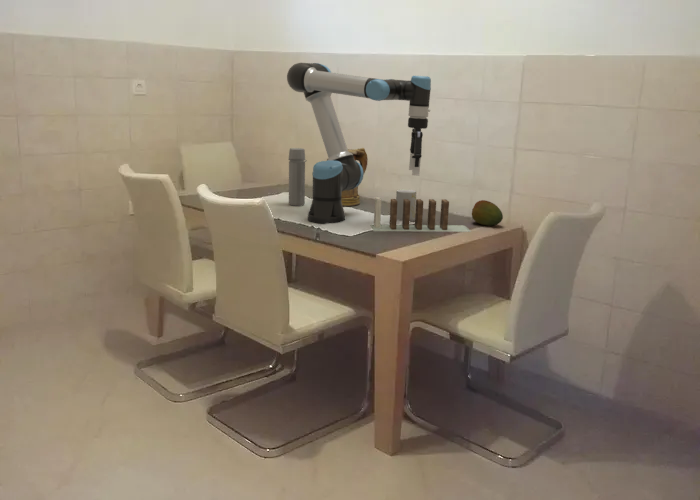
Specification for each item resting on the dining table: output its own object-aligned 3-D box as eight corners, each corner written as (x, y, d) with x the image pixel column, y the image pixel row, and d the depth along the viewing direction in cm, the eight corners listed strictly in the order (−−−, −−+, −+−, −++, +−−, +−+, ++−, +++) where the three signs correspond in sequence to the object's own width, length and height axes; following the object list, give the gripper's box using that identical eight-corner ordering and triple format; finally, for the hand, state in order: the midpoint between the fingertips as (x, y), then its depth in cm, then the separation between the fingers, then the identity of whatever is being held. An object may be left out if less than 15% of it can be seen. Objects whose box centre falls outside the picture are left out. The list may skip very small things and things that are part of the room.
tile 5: (442, 229, 262) (444, 201, 259) (439, 227, 267) (441, 199, 264) (447, 229, 262) (449, 201, 259) (444, 227, 267) (446, 199, 264)
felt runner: (373, 232, 257) (373, 230, 257) (369, 225, 267) (369, 224, 267) (471, 232, 261) (471, 231, 261) (464, 226, 271) (464, 225, 271)
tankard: (312, 201, 314) (313, 147, 308) (353, 197, 327) (355, 145, 321) (334, 208, 300) (335, 151, 294) (376, 204, 313) (378, 149, 307)
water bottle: (284, 204, 306) (285, 148, 300) (300, 202, 310) (300, 147, 304) (294, 207, 299) (295, 150, 292) (310, 206, 303) (311, 149, 297)
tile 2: (404, 229, 260) (405, 201, 258) (402, 226, 265) (403, 198, 262) (409, 229, 261) (410, 201, 258) (406, 226, 265) (408, 199, 263)
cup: (413, 222, 276) (415, 193, 273) (393, 221, 277) (395, 191, 274) (415, 218, 284) (417, 190, 281) (396, 217, 285) (398, 188, 282)
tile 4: (430, 229, 261) (431, 201, 259) (427, 226, 266) (428, 199, 264) (434, 229, 262) (436, 201, 259) (431, 226, 266) (433, 199, 264)
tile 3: (417, 229, 261) (418, 201, 258) (414, 226, 266) (416, 199, 263) (421, 229, 261) (423, 201, 258) (419, 226, 266) (420, 199, 263)
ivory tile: (375, 227, 262) (376, 199, 260) (373, 224, 267) (374, 197, 265) (380, 227, 263) (381, 199, 260) (378, 224, 267) (379, 197, 265)
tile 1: (391, 229, 260) (392, 201, 257) (389, 226, 265) (390, 198, 262) (396, 229, 260) (397, 201, 257) (394, 226, 265) (395, 198, 262)
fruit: (474, 221, 282) (476, 197, 280) (504, 224, 278) (506, 200, 275) (467, 226, 272) (469, 201, 269) (499, 229, 267) (501, 204, 265)
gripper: (431, 120, 248) (427, 178, 254) (424, 115, 272) (420, 168, 278) (411, 119, 248) (406, 177, 253) (406, 114, 272) (402, 167, 278)
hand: (414, 172), depth 266 cm, fingers open, 13 cm apart
